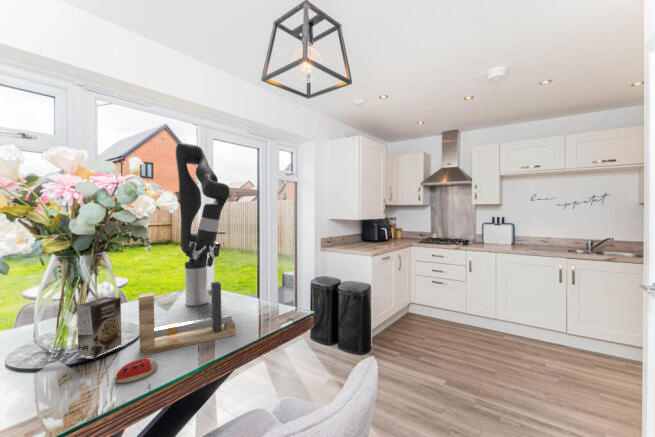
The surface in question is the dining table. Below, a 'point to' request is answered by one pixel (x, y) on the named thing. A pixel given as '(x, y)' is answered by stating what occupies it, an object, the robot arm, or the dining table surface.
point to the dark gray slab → (216, 305)
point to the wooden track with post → (173, 341)
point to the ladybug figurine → (136, 370)
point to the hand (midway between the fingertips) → (200, 266)
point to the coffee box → (99, 326)
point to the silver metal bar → (189, 326)
